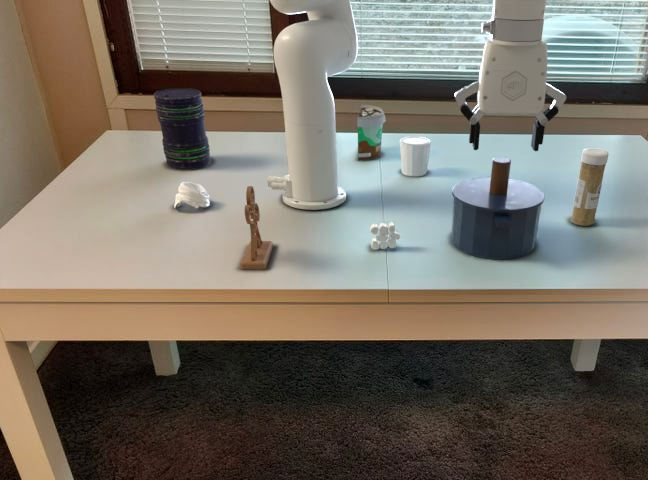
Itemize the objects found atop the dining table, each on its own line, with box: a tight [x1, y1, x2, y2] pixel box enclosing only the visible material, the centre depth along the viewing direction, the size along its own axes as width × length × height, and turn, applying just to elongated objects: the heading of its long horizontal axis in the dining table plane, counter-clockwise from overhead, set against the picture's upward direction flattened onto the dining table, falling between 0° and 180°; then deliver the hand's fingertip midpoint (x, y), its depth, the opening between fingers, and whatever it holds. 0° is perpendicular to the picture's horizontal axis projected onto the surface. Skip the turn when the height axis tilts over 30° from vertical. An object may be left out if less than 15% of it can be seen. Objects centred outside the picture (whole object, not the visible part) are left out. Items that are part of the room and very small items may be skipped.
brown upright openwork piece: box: [240, 185, 274, 270], centre depth 104 cm, size 9×4×12 cm, turn 1°
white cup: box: [399, 136, 432, 177], centre depth 142 cm, size 7×7×7 cm
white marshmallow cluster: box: [369, 221, 401, 251], centre depth 110 cm, size 5×1×4 cm, turn 94°
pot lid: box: [451, 156, 546, 212], centre depth 108 cm, size 16×16×7 cm
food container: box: [356, 104, 387, 161], centre depth 151 cm, size 12×6×10 cm, turn 179°
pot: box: [451, 197, 542, 260], centre depth 112 cm, size 15×20×8 cm
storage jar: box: [153, 87, 212, 171], centre depth 142 cm, size 10×10×15 cm
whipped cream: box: [173, 181, 211, 210], centre depth 124 cm, size 8×7×5 cm
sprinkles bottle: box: [570, 147, 609, 227], centre depth 119 cm, size 5×5×14 cm
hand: (504, 148), depth 105 cm, fingers open, 9 cm apart
